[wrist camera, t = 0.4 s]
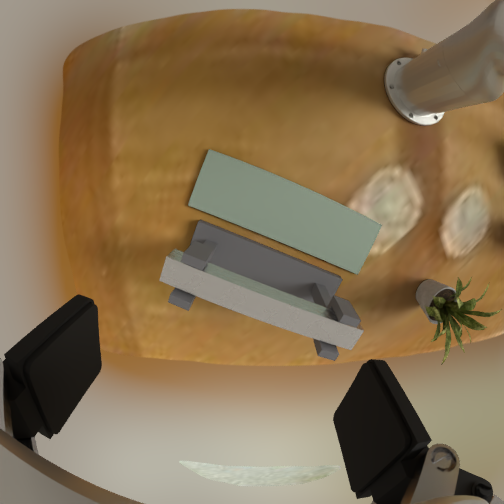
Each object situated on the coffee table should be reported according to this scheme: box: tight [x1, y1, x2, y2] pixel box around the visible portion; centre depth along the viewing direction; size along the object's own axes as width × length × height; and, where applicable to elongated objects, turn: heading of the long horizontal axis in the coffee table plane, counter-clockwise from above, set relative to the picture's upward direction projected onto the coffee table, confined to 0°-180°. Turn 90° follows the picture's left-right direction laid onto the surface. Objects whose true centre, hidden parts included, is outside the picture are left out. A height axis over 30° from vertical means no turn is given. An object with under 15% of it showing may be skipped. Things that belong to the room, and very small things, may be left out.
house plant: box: [416, 277, 501, 364], centre depth 35 cm, size 14×14×16 cm
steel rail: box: [160, 249, 364, 350], centre depth 31 cm, size 3×24×3 cm, turn 68°
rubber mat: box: [188, 149, 382, 275], centre depth 40 cm, size 9×29×1 cm, turn 68°
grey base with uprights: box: [168, 220, 361, 361], centre depth 36 cm, size 6×24×16 cm, turn 68°
